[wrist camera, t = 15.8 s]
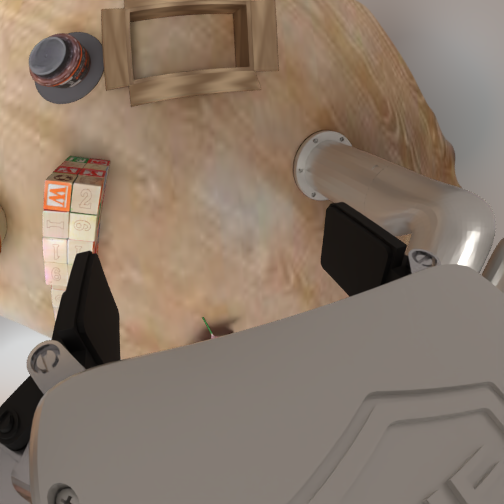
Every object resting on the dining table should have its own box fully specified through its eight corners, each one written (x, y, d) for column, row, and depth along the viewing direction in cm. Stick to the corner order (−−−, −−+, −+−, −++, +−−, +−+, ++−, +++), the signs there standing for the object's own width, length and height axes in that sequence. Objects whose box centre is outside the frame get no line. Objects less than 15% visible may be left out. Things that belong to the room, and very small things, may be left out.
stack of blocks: (96, 288, 42) (93, 342, 33) (61, 284, 39) (51, 339, 30) (110, 159, 34) (101, 186, 24) (68, 154, 31) (44, 179, 21)
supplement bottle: (90, 84, 27) (73, 80, 18) (49, 92, 25) (17, 92, 16) (93, 42, 24) (78, 22, 15) (51, 50, 22) (22, 35, 13)
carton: (253, -4, 28) (274, -17, 23) (258, 89, 36) (280, 89, 31) (106, 7, 22) (101, -9, 17) (113, 109, 30) (108, 112, 25)
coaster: (103, 24, 23) (103, 23, 23) (108, 91, 29) (107, 91, 28) (34, 47, 20) (32, 46, 20) (39, 113, 26) (38, 113, 26)
